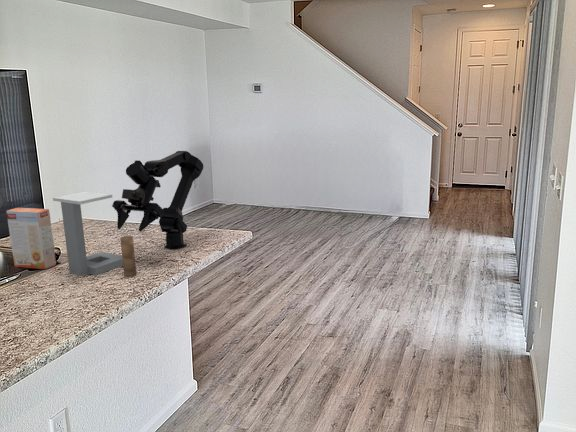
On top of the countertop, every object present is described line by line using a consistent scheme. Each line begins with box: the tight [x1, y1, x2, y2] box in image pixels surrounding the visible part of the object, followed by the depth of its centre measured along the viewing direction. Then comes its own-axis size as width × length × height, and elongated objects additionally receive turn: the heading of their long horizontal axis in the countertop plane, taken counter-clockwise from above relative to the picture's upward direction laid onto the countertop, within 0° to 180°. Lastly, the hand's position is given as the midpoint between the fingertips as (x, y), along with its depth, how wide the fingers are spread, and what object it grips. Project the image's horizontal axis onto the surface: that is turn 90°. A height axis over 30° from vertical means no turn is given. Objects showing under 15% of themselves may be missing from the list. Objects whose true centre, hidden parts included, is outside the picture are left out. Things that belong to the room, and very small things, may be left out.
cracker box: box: [6, 207, 57, 270], centre depth 186 cm, size 14×6×21 cm, turn 71°
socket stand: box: [52, 191, 123, 277], centre depth 183 cm, size 17×14×26 cm
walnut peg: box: [119, 235, 137, 278], centre depth 176 cm, size 4×4×13 cm
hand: (128, 229), depth 182 cm, fingers open, 9 cm apart
